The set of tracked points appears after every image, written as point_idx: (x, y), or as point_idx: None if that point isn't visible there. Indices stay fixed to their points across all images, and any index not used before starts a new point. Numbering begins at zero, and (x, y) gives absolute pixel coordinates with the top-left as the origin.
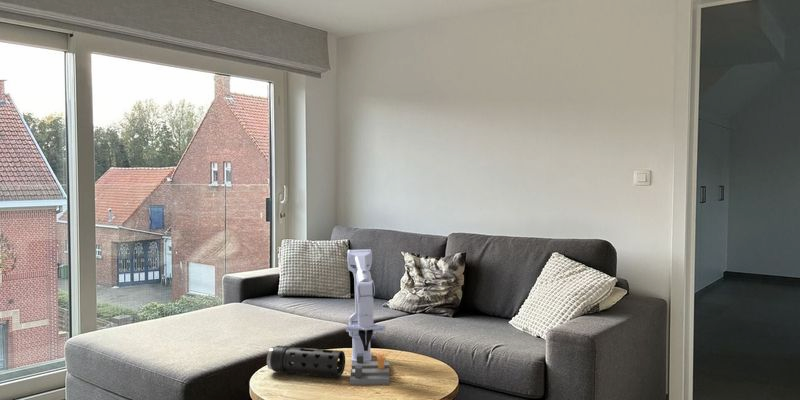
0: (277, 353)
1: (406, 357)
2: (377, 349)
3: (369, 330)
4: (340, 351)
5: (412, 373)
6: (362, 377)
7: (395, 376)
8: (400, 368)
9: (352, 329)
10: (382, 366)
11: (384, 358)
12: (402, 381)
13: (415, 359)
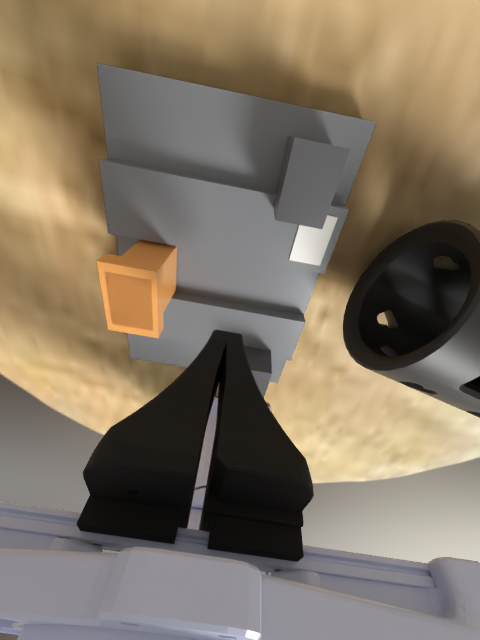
0: None
1: (84, 398)
2: None
3: (133, 528)
4: (444, 346)
5: (20, 240)
6: (282, 145)
7: (96, 216)
8: (88, 312)
9: (387, 588)
10: (143, 249)
11: (104, 258)
12: (42, 115)
13: (49, 378)
